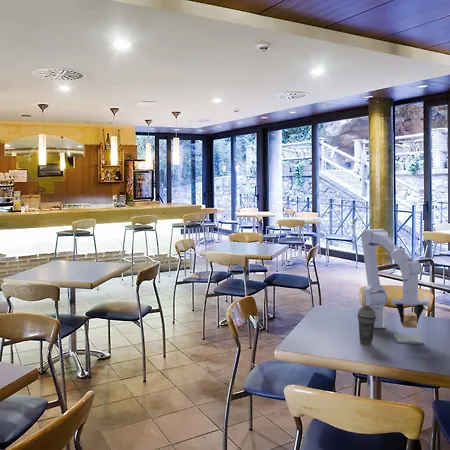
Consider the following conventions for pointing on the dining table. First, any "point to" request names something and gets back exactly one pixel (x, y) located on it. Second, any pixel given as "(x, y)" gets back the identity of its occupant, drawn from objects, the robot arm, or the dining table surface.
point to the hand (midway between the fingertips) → (409, 322)
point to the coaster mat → (408, 339)
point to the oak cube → (409, 320)
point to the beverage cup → (366, 324)
